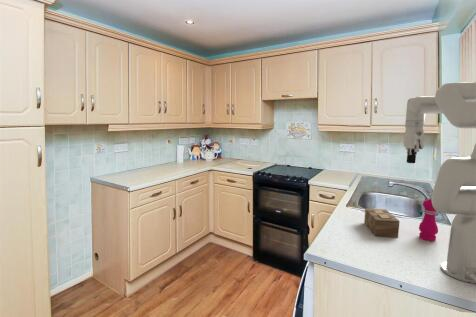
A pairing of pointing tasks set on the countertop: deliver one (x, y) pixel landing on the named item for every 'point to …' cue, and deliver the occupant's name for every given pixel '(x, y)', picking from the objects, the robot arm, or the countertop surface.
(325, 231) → the countertop surface
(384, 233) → the socket block
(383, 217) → the peg
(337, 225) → the countertop surface
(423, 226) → the pepper mill
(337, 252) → the countertop surface
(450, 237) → the robot arm
